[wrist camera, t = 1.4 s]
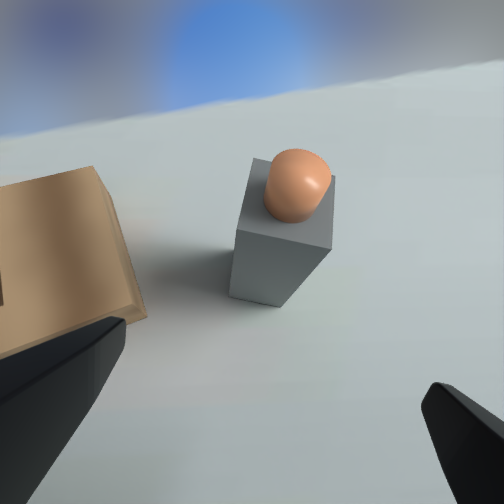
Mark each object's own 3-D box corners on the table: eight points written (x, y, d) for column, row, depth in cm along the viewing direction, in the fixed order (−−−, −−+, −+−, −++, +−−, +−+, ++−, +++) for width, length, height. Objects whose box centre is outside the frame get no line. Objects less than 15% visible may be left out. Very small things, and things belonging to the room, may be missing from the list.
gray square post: (280, 307, 22) (351, 226, 10) (228, 296, 22) (239, 202, 10) (287, 259, 24) (352, 146, 12) (239, 249, 24) (258, 125, 12)
